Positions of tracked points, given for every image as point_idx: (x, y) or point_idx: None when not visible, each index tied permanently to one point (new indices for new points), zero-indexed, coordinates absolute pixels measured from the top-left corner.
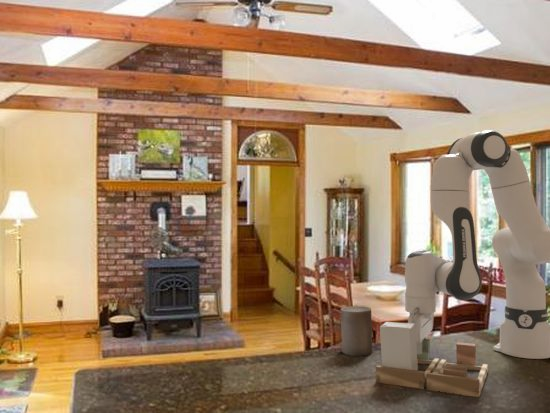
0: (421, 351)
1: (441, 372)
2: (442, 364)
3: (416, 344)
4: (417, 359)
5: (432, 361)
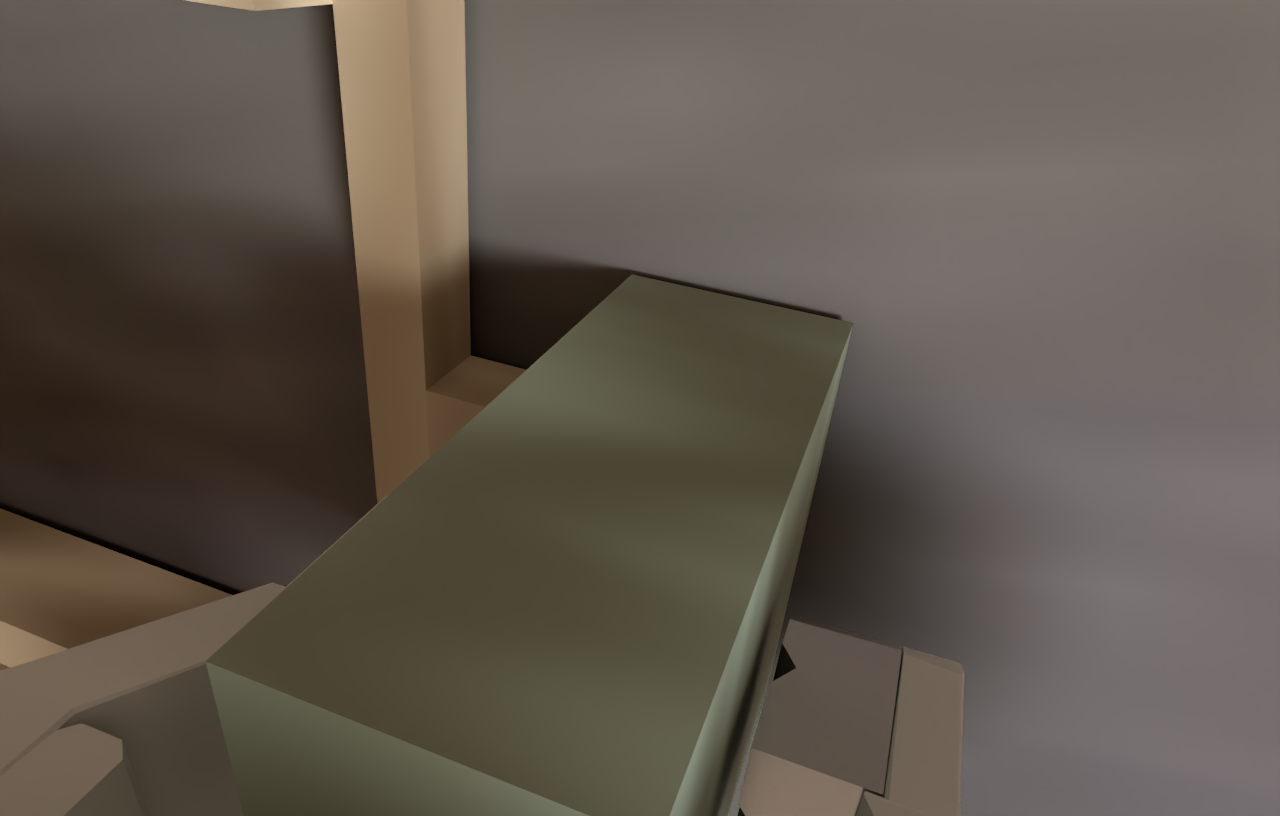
0: None
1: None
2: None
3: (104, 687)
4: (374, 442)
5: None
